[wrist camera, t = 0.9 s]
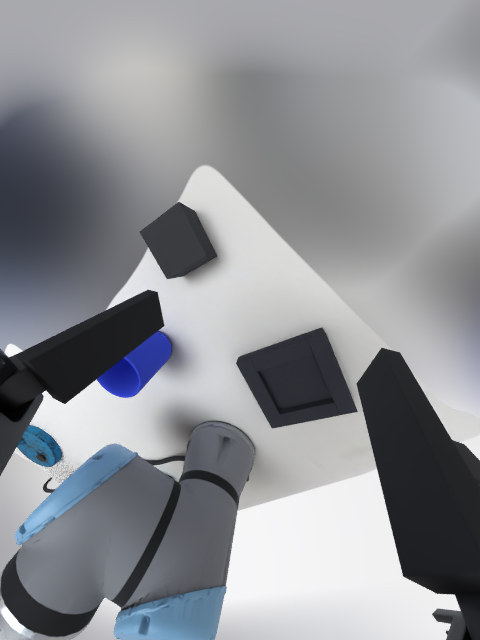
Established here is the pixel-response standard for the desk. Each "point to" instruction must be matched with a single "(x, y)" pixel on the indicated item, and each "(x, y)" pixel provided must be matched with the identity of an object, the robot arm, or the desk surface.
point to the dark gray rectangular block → (178, 241)
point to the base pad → (297, 380)
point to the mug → (137, 367)
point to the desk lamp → (39, 447)
